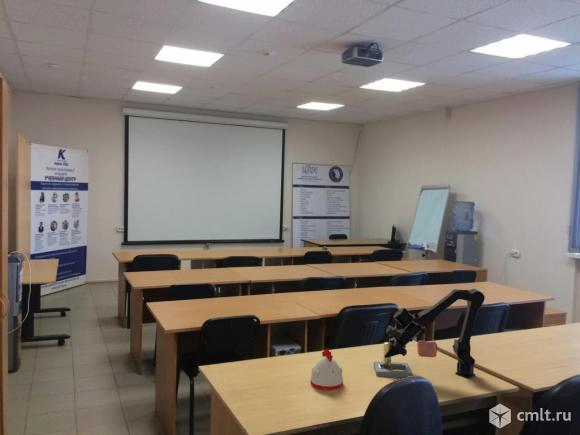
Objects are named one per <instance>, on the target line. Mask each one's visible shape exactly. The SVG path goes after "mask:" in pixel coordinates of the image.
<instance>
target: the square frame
mask: <svg viewBox="0 0 580 435" xmlns="http://www.w3.org/2000/svg"><path fill="white" fill-rule="evenodd" d="M382 366H383V361H376V360H375V361H373V369H374V373H375V376H376V377H394V378H409V377H408V376H412V377H413V370H412V369H411V367H410V365H409V363H408V362H394V361H391V367H392V368H393V369H395V370H388V369H382ZM396 369H401V370H396Z"/></svg>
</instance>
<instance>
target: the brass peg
mask: <svg viewBox="0 0 580 435" xmlns="http://www.w3.org/2000/svg"><path fill="white" fill-rule="evenodd" d="M390 348H391V343H390V342H389V341H385V342H383V353H384V354H383V361H382V362H383V366H382V368H381V369H388V370H393V369H394V368H392V367H391V362H392V357H388V358H385V357H384V356H385V355H386V353H387V352H388V351H389V350H390Z"/></svg>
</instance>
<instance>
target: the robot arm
mask: <svg viewBox="0 0 580 435" xmlns="http://www.w3.org/2000/svg"><path fill="white" fill-rule="evenodd" d="M485 298H486V296H485V294H484V293H483V292H482V291H480V290H479V289H477V288H471V289H459V288H458V289H457V288H455V289H454V288H453V289H452V291H450V292H449V293H448V294H447V295H446V296H444V297H443V298H441V299H440V300H439V301H438V302H436V303H435V304H434V305H433V306H430V307H428V308H426V309H423V310H421V311H420V312H418V313H412V314H411V313H410V312H409V311H408V309H406V307H403V308H401V309H399V310H397V311H396V312H395V313H394V314H393V318H394V320H396V321H397V323H398V324H400V325H401V326H402V327H404V328H401V329H397V328H396V327H393V326H392V325H388V326H387V328H386V330H385V333H386V334H387V335H388V336H389V338H388V339H389V340H388V342H390V343H391V348H390V350H389V351H388V352H387V353H386V355H385V356H384V352H383V353H382V354H383V358H384V357H385V358H388V357H391V358H392V357H395V356H399V355H400V356H401V355H402V356H403V357H405V356H406V355H407V353H408V350H407V345H408V344H409V343H410V342H411V343H412V342H414V341H413V340H414V338H415V337H416V336H417V335H418V334H420V333H422V334H423V335H426V328H427V327H429V326H431V325H432V324H433V322H434V321H436V319H437V317H438V316H439V315H440V314H441V313H443V312H444V311H445V310H447V309H448V308H449V307H450V306H452V305H453V304H454V303H456V302H457V301H459V300H463V301H466V307H467V308H466V312H465V315H464V320H463V324H462V327H461V332H460V336H459V337H458V339H455V338H454V341H453V345H452V350H453V353H454V354H455V355H456V356H457V358H458V359H457V363H456V372H454V373H455V374H456V375H458V376H460V377H463V378H466V379H469V378H472V377H474V376H476V373H474V372H475V370H474V369H475V363H476V359H475V358H474V357H473V356H472V355H471V339H472V334H473V330H474V327H475V324H476V323H475V322H476V318H477V315H478V311H479V310H480V309H481V308H482V305H483V303H484V302H485V300H486V299H485Z"/></svg>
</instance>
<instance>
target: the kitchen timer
mask: <svg viewBox="0 0 580 435" xmlns="http://www.w3.org/2000/svg"><path fill="white" fill-rule="evenodd" d="M321 355H322V357H321V358H319V359H318V360H317V361H316V363H315V364H314V366H313V367H311V375H310V385H311V386H312V387H313V388H314V389H317V388H318V389H317V390H321V391H336V390H338V389H341V388H342V387H343V386H344V385H343V384H344V379H343V368H342V367H341V366H340V365H339V364H338V362H337V360H335V358H333V357H334V355H332V351H330V349H328V348H325V349H324V350H323V351H321Z"/></svg>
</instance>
